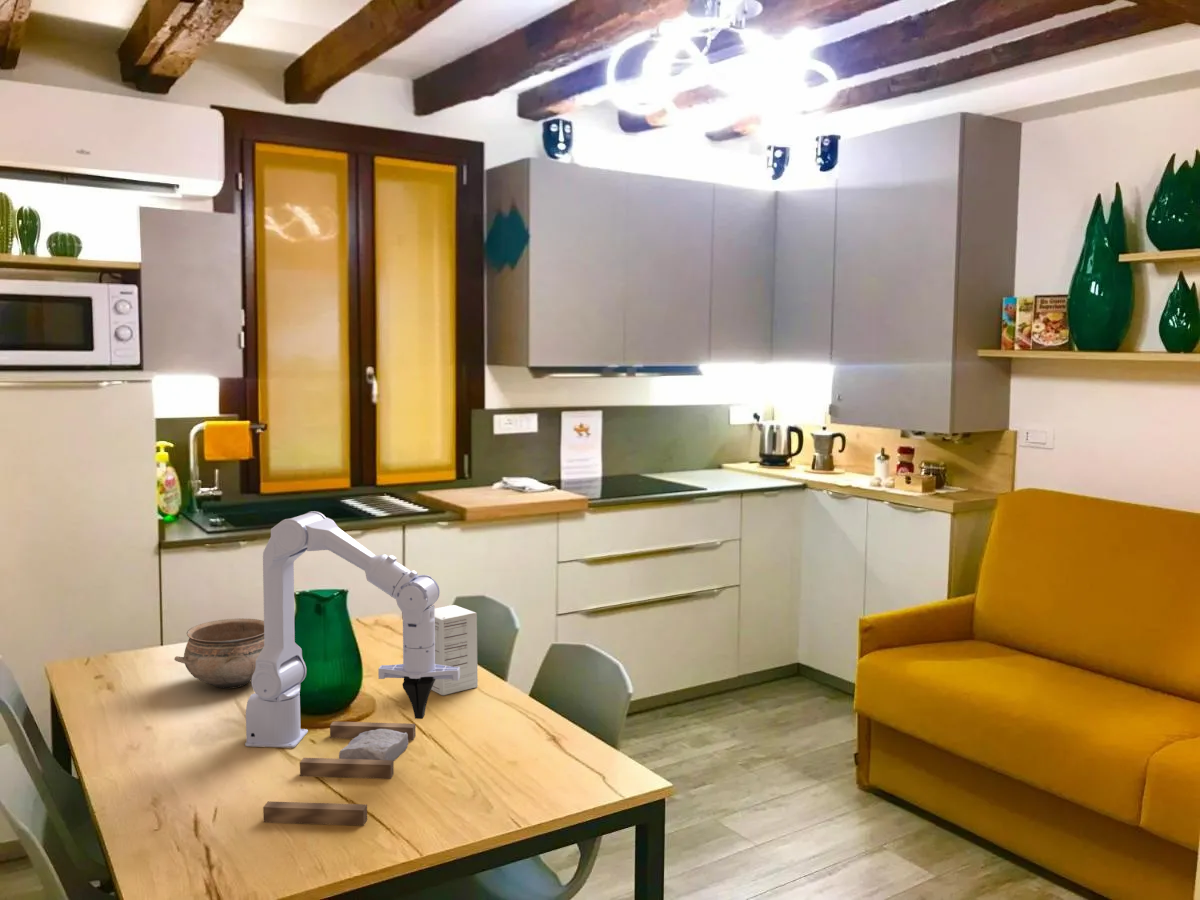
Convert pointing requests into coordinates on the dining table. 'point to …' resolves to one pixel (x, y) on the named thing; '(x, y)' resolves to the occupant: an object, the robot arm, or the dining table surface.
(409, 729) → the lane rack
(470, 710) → the dining table surface
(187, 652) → the cooking pot
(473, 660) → the supplement box
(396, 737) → the stone block
